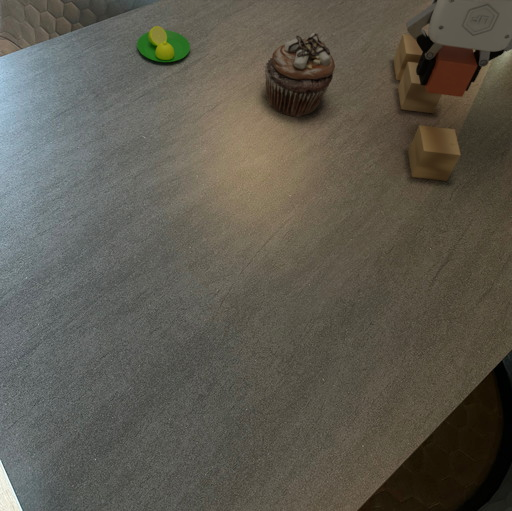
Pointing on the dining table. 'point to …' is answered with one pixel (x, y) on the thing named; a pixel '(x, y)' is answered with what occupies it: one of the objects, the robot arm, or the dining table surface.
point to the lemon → (163, 45)
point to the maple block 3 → (433, 153)
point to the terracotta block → (452, 71)
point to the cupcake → (298, 75)
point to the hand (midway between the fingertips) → (442, 80)
